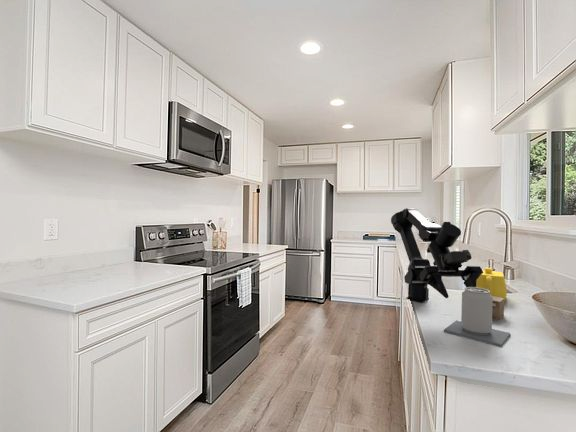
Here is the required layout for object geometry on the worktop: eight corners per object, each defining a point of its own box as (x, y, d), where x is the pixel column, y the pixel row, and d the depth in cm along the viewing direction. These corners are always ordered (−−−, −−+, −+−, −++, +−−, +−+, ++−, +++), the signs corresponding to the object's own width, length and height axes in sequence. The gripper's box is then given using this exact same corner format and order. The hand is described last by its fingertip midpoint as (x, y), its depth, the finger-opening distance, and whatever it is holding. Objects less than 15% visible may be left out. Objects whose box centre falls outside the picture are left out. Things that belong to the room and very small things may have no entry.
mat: (443, 331, 92) (443, 329, 92) (456, 322, 99) (456, 320, 99) (501, 346, 82) (501, 344, 82) (510, 335, 90) (510, 333, 90)
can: (491, 338, 86) (492, 293, 85) (460, 332, 90) (461, 289, 89) (491, 329, 92) (492, 288, 92) (462, 324, 96) (463, 284, 96)
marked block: (478, 316, 106) (478, 298, 106) (483, 311, 111) (483, 294, 110) (499, 320, 102) (499, 301, 102) (503, 316, 106) (504, 298, 106)
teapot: (470, 289, 142) (471, 263, 142) (504, 293, 136) (504, 265, 136) (469, 300, 125) (470, 270, 125) (508, 305, 119) (509, 273, 118)
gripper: (424, 240, 101) (444, 283, 91) (480, 241, 103) (505, 283, 92) (412, 261, 109) (428, 302, 99) (463, 261, 111) (485, 302, 100)
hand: (461, 297), depth 97 cm, fingers open, 9 cm apart
